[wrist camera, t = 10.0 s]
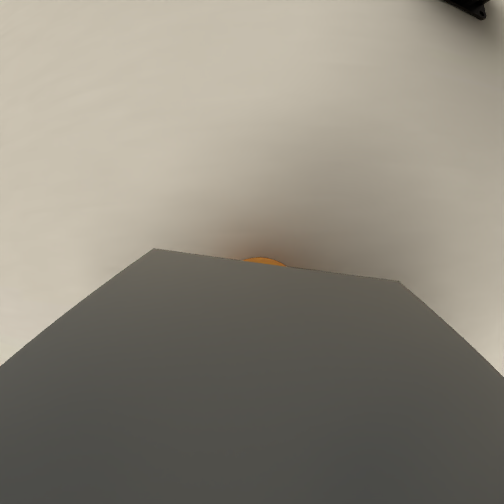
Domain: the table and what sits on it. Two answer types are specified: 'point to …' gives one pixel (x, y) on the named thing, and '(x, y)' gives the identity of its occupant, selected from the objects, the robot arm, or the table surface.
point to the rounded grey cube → (249, 394)
